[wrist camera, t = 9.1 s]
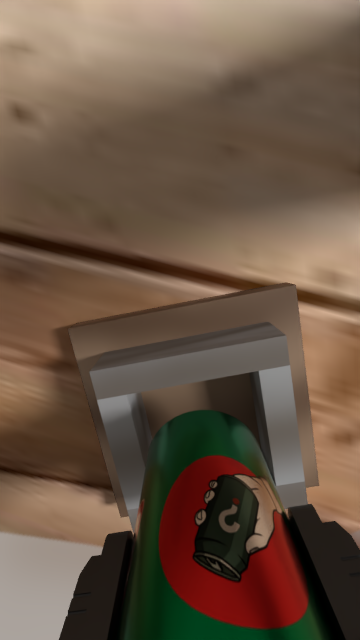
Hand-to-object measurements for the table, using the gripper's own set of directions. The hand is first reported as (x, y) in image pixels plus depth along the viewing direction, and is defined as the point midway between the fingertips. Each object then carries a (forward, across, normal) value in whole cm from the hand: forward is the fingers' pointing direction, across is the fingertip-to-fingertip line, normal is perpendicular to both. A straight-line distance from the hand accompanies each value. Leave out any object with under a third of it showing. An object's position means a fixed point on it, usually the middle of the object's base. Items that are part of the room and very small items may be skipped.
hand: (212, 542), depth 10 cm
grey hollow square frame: (+10, 0, 0) cm, 10 cm away
